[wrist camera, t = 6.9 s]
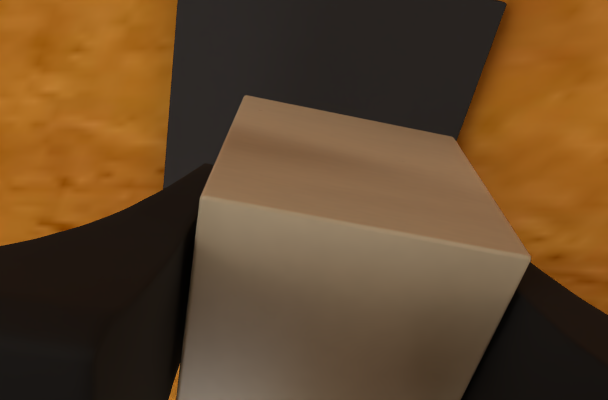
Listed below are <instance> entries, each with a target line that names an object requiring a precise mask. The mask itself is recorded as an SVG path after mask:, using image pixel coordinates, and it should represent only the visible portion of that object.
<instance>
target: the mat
mask: <svg viewBox="0 0 608 400" xmlns="http://www.w3.org/2000/svg"><path fill="white" fill-rule="evenodd" d="M505 7H506V3H505V2H502V1H497V0H178V4H177V17H176V30H175V43H174V56H173V69H172V82H171V95H170V108H169V121H168V134H167V147H166V160H165V173H164V186H163V189H165V188H166V187H168V186H170V185H171V184H173V183H175V182H176V181H178V180H179V179H181V178H182V177H184V176H186V175H187V174H189V173H190V172H192V171H193V170H195V169H197V168H198V167H200V166H201V165H203V164H205V163H206V164H211V165H214V164H215V162H216V159H217V157H218V155H219V152H220V150H221V148H222V146H223V143H224V141H225V139H226V136H227V134H228V132H229V129H230V127H231V125H232V123H233V120H234V118H235V116H236V113H237V111H238V109H239V106H240V104H241V102H242V99H243V97H244V96H246V95H248V96H253V97H258V98H263V99H268V100H273V101H277V102H282V103H287V104H292V105H297V106H302V107H307V108H312V109H317V110H322V111H327V112H332V113H337V114H342V115H347V116H352V117H357V118H362V119H367V120H372V121H377V122H381V123H386V124H391V125H396V126H401V127H406V128H411V129H416V130H421V131H426V132H431V133H436V134H441V135H446V136H451V137H453V138H454V139H455V140H456V141H457V138H458V136H459V133H460V130H461V127H462V125H463V122H464V119H465V116H466V114H467V111H468V108H469V106H470V103H471V100H472V97H473V95H474V92H475V89H476V86H477V84H478V81H479V78H480V76H481V73H482V70H483V67H484V65H485V62H486V59H487V56H488V54H489V51H490V48H491V45H492V43H493V40H494V37H495V35H496V32H497V29H498V26H499V24H500V21H501V18H502V15H503V13H504V10H505Z"/></svg>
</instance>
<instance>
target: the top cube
mask: <svg viewBox="0 0 608 400" xmlns="http://www.w3.org/2000/svg"><path fill="white" fill-rule="evenodd" d="M530 261H531V256H530V254H529V253H528V251H527V250H526V248H525V247H524V245H523V244H522V242H521V240H520V239H519V237H518V236H517V234H516V233H515V231H514V230H513V228H512V227H511V225H510V224H509V222H508V220H507V219H506V217H505V216H504V214H503V213H502V211H501V210H500V208H499V207H498V205H497V203H496V202H495V200H494V199H493V197H492V196H491V194H490V193H489V191H488V190H487V188H486V187H485V185H484V183H483V182H482V180H481V179H480V177H479V176H478V174H477V173H476V171H475V170H474V168H473V167H472V165H471V163H470V162H469V160H468V159H467V157H466V156H465V154H464V153H463V151H462V150H461V148H460V146H459V145H458V143H457V142H456V140H455V139H454V138H453V137H451V136H446V135H441V134H436V133H431V132H426V131H421V130H416V129H411V128H406V127H401V126H396V125H391V124H386V123H381V122H377V121H372V120H367V119H362V118H357V117H352V116H347V115H342V114H337V113H332V112H327V111H322V110H317V109H312V108H307V107H302V106H297V105H292V104H287V103H282V102H277V101H273V100H268V99H263V98H258V97H253V96H248V95H246V96H244V97H243V99H242V102H241V104H240V106H239V109H238V111H237V113H236V116H235V118H234V120H233V123H232V125H231V127H230V129H229V132H228V134H227V136H226V139H225V141H224V143H223V146H222V148H221V150H220V152H219V155H218V157H217V159H216V162H215V164H214V166H213V169H212V171H211V173H210V175H209V178H208V180H207V182H206V185H205V187H204V189H203V192H202V194H201V196H200V200H199V209H198V218H197V226H196V235H195V243H194V252H193V260H192V269H191V277H190V286H189V294H188V303H187V311H186V320H185V328H184V337H183V345H182V354H181V362H180V371H179V379H178V388H177V396H176V400H461V398H462V396H463V394H464V392H465V390H466V388H467V386H468V384H469V383H470V381H471V379H472V377H473V375H474V373H475V371H476V369H477V367H478V365H479V363H480V361H481V359H482V357H483V355H484V353H485V351H486V349H487V347H488V345H489V343H490V341H491V339H492V337H493V335H494V333H495V331H496V329H497V327H498V325H499V323H500V321H501V319H502V317H503V315H504V313H505V311H506V309H507V307H508V305H509V303H510V301H511V299H512V297H513V295H514V293H515V291H516V289H517V287H518V285H519V283H520V281H521V279H522V277H523V275H524V273H525V271H526V269H527V267H528V265H529V263H530Z"/></svg>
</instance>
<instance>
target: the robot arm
mask: <svg viewBox="0 0 608 400" xmlns="http://www.w3.org/2000/svg"><path fill="white" fill-rule="evenodd" d="M213 166H214V165H211V164H206V163H205V164H203V165H201V166H200V167H198V168H197V169H195V170H193V171H192V172H190V173H189V174H187V175H186V176H184V177H182V178H181V179H179V180H178V181H176V182H175V183H173V184H171V185H170V186H168V187H166V188H165V189H163V190H161V191H160V192H158V193H156V194H154V195H152V196H150V197H148V198H146V199H144V200H142V201H140V202H138V203H137V204H135V205H133V206H131V207H129V208H127V209H124V210H122V211H120V212H117V213H115V214H113V215H110V216H108V217H105V218H102V219H100V220H97V221H94V222H92V223H89V224H86V225H83V226H80V227H76V228H73V229H69V230H66V231H62V232H59V233H55V234H51V235H48V236H44V237H41V238H37V239H33V240H28V241H24V242H19V243H14V244H9V245H4V246H0V400H168V399H169V395H170V392H171V388H172V385H173V382H174V379H175V376H176V373H177V370H178V367H179V364H180V362H181V354H182V345H183V337H184V328H185V320H186V311H187V303H188V294H189V286H190V277H191V269H192V260H193V252H194V243H195V235H196V226H197V218H198V209H199V200H200V196H201V194H202V192H203V189H204V187H205V185H206V182H207V180H208V178H209V175H210V173H211V171H212V169H213ZM461 400H608V315H607V314H605V313H603V312H602V311H600V310H599V309H597V308H595V307H594V306H592V305H590V304H589V303H587V302H585V301H584V300H582V299H581V298H579V297H578V296H576V295H575V294H573V293H572V292H570V291H569V290H568V289H566V288H565V287H563V286H562V285H561V284H559V283H558V282H556V281H555V280H554V279H552V278H551V277H549V276H548V275H547V274H545V273H544V272H542V271H541V270H540V269H539V268H537V267H536V266H535V265H533V264H532V263H531V262H530V263H529V265H528V267H527V269H526V271H525V273H524V275H523V277H522V279H521V281H520V283H519V285H518V287H517V289H516V291H515V293H514V295H513V297H512V299H511V301H510V303H509V305H508V307H507V309H506V311H505V313H504V315H503V317H502V319H501V321H500V323H499V325H498V327H497V329H496V331H495V333H494V335H493V337H492V339H491V341H490V343H489V345H488V347H487V349H486V351H485V353H484V355H483V357H482V359H481V361H480V363H479V365H478V367H477V369H476V371H475V373H474V375H473V377H472V379H471V381H470V383H469V384H468V386H467V388H466V390H465V392H464V394H463V396H462V398H461Z"/></svg>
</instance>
